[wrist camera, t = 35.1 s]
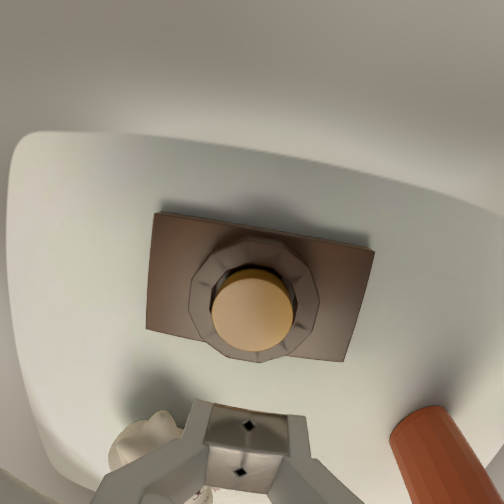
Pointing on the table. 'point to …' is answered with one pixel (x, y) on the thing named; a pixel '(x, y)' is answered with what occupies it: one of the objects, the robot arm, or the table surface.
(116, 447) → the cat figurine
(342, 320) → the brown button base
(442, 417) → the orange bottle
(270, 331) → the button
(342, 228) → the table surface
